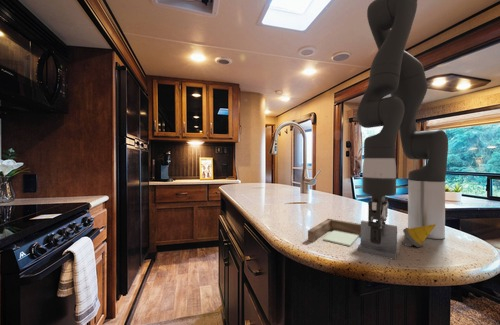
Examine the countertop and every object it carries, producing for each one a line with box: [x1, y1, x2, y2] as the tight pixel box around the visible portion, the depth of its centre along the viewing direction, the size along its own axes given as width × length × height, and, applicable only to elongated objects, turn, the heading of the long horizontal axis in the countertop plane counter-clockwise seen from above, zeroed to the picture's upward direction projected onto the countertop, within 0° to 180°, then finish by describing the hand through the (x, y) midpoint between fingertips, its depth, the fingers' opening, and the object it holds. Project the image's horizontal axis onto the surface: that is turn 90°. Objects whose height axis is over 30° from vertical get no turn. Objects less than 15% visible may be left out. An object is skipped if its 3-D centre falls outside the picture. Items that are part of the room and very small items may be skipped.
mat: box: [322, 229, 360, 247], centre depth 65 cm, size 11×8×1 cm
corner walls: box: [307, 218, 361, 243], centre depth 65 cm, size 18×15×3 cm
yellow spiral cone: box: [402, 224, 436, 248], centre depth 59 cm, size 5×5×10 cm
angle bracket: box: [357, 219, 398, 260], centre depth 55 cm, size 8×4×7 cm, turn 52°
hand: (378, 238), depth 56 cm, fingers open, 7 cm apart
